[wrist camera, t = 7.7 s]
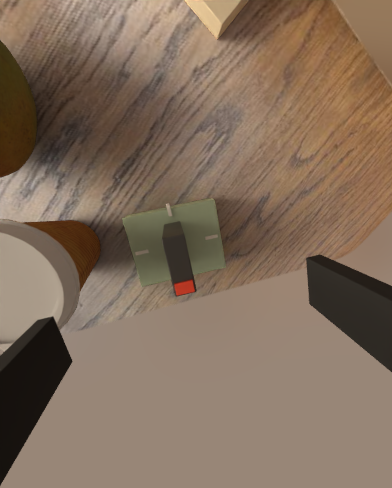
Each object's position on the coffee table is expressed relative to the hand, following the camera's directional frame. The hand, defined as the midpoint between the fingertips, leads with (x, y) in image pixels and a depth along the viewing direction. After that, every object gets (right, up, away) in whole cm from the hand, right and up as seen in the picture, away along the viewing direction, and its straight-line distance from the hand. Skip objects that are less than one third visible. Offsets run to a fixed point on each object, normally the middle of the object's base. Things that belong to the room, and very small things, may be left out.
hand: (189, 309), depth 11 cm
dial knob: (-2, +3, +13) cm, 13 cm away
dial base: (-2, +4, +16) cm, 16 cm away
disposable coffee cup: (-14, +3, +15) cm, 21 cm away
